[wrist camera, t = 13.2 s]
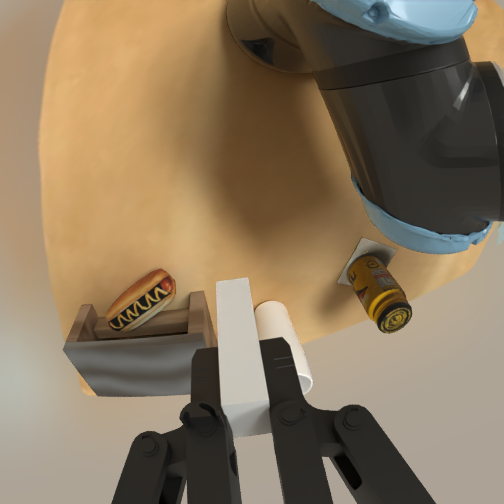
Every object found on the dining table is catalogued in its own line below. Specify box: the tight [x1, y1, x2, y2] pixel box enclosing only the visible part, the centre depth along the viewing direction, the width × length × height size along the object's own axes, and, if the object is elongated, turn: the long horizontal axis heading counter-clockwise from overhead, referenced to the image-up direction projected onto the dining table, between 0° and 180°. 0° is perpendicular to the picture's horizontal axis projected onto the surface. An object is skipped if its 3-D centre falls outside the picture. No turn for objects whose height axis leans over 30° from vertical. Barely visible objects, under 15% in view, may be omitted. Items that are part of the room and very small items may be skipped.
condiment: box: [337, 238, 412, 333], centre depth 41 cm, size 7×8×12 cm
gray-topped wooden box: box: [63, 291, 218, 397], centre depth 43 cm, size 12×21×10 cm, turn 96°
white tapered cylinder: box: [254, 301, 313, 395], centre depth 42 cm, size 7×7×15 cm
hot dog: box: [106, 269, 176, 332], centre depth 42 cm, size 5×13×5 cm, turn 126°
